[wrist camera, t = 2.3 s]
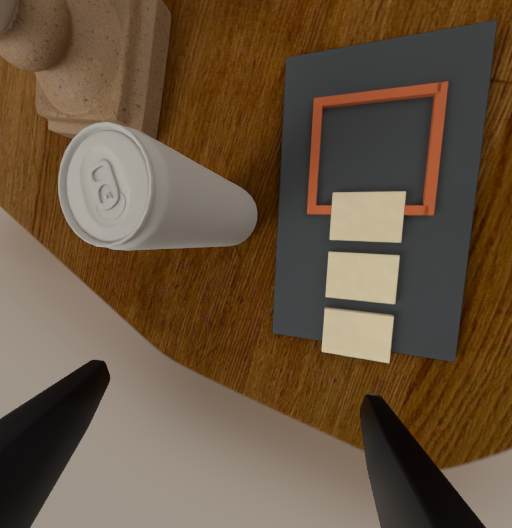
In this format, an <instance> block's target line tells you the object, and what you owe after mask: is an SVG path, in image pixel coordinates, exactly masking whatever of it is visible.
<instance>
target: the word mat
mask: <svg viewBox="0 0 512 528" xmlns="http://www.w3.org/2000/svg"><path fill="white" fill-rule="evenodd" d="M496 28H497V20H494V21H488V22H482V23H477V24H471V25H466V26H460V27H455V28H449V29H443V30H438V31H432V32H427V33H421V34H415V35H410V36H404V37H399V38H393V39H387V40H382V41H376V42H371V43H365V44H359V45H354V46H348V47H343V48H337V49H331V50H326V51H320V52H315V53H309V54H303V55H298V56H292V57H287V58H286V70H285V90H284V110H283V131H282V151H281V171H280V191H279V211H278V231H277V252H276V272H275V292H274V312H273V333H274V334H281V335H287V336H293V337H300V338H306V339H312V340H319V341H322V352H326V353H332V354H338V355H343V356H349V357H355V358H361V359H367V360H373V361H379V362H384V363H390V353H391V352H395V353H401V354H408V355H414V356H420V357H427V358H433V359H439V360H446V361H452V362H455V359H456V351H457V343H458V334H459V326H460V318H461V310H462V302H463V294H464V286H465V278H466V270H467V262H468V254H469V246H470V238H471V229H472V221H473V213H474V205H475V197H476V189H477V181H478V173H479V165H480V157H481V149H482V141H483V133H484V124H485V116H486V108H487V100H488V92H489V84H490V76H491V68H492V60H493V52H494V44H495V36H496Z"/></svg>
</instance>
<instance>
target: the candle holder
mask: <svg viewBox="0 0 512 528" xmlns="http://www.w3.org/2000/svg"><path fill="white" fill-rule="evenodd" d="M170 28H171V12H170V10H169V9H168V8H167V6H166V5H165V4H164V3H163V1H162V0H0V55H1V56H2V57H3V58H5V59H6V60H7V61H8V62H9V63H11V64H12V65H14V66H16V67H17V68H19V69H22V70H25V71H28V72H35V74H36V110H37V113H38V114H39V115H40V116H42V117H45V118H47V120H48V129H49V130H52V131H53V132H56V133H58V134H61V135H63V136H66V137H68V138H72V139H73V138H74V137H75V136H76V135H77V134H78V133H79V132H80V131H81V130H83V129H84V128H86V127H88V126H90V125H92V124H94V123H101V122H111V123H115V124H118V125H122V126H125V127H128V128H132V129H136V130H139V131H141V132H142V133H144V134H146V135H148V136H150V137H152V138H153V139H155V140H156V137H157V131H158V125H159V117H160V109H161V102H162V94H163V86H164V78H165V70H166V62H167V54H168V47H169V39H170Z"/></svg>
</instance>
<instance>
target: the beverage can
mask: <svg viewBox="0 0 512 528" xmlns="http://www.w3.org/2000/svg"><path fill="white" fill-rule="evenodd" d="M58 192H59V199H60V203H61V208H62V211H63V213H64V215H65V218H66V220H67V222H68V224H69V225H70V226H71V228H72V229H73V231H74V232H75V233H76V234H77V235H78V236H79V237H80V238H82V239H83V240H84V241H85V242H88V243H90V244H92V245H95V246H97V247H107V248H110V249H115V250H148V249H172V248H196V247H220V246H233V245H238V244H240V243H242V242H244V241H245V240H246V239H247V238H248V237H249V236H250V235H251V234H252V232H253V230H254V229H255V226H256V223H257V213H258V212H257V208H256V204H255V202H254V200H253V198H252V197H251V196H250V195H249V194H248V193H247V191H245V190H244V189H242V188H241V187H239V186H238V185H236V184H234V183H232V182H230V181H228V180H227V179H225V178H223V177H221V176H219V175H217V174H216V173H214V172H212V171H210V170H208V169H207V168H205V167H203V166H201V165H199V164H198V163H196V162H194V161H192V160H191V159H189V158H187V157H185V156H184V155H182V154H180V153H178V152H177V151H175V150H173V149H171V148H170V147H168V146H166V145H164V144H162V143H161V142H159V141H157V140H155V139H153V138H152V137H150V136H148V135H146V134H144V133H142V132H141V131H139V130H136V129H132V128H128V127H125V126H122V125H118V124H115V123H111V122H101V123H94V124H92V125H90V126H88V127H86V128H84V129H83V130H81V131H80V132H79V133H78V134H77V135H76V136H75V137H74V138H73V139H72V141H71V142H70V144H69V146H68V147H67V149H66V150H65V153H64V156H63V159H62V161H61V164H60V171H59V177H58Z"/></svg>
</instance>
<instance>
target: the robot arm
mask: <svg viewBox="0 0 512 528" xmlns="http://www.w3.org/2000/svg"><path fill="white" fill-rule="evenodd" d="M109 381H110V374H109V371H108V369H107V365H106V363H105V362H104V361H100V360H91V361H89V362H88V363H86V364H85V365H83V366H82V367H80V368H79V369H77V370H75V371H74V372H72V373H71V374H69V375H68V376H66V377H64V378H63V379H61V380H60V381H58V382H57V383H55V384H54V385H52V386H51V387H49V388H47V389H46V390H44V391H43V392H42V393H40V394H38V395H36V396H35V397H34V398H32V399H30V400H29V401H27V402H26V403H24V404H23V405H21V406H19V407H18V408H16V409H15V410H13V411H12V412H10V413H9V414H7V415H6V416H4V417H2V418H1V419H0V528H30V527H31V525H32V524H33V522H34V520H35V518H36V517H37V515H38V513H39V512H40V510H41V508H42V506H43V504H44V503H45V501H46V499H47V498H48V496H49V494H50V492H51V491H52V489H53V487H54V486H55V484H56V482H57V480H58V479H59V477H60V475H61V474H62V472H63V470H64V468H65V467H66V465H67V463H68V461H69V460H70V458H71V456H72V455H73V453H74V451H75V449H76V448H77V446H78V444H79V442H80V440H81V439H82V437H83V436H84V434H85V432H86V430H87V428H88V426H89V424H90V422H91V420H92V418H93V416H94V414H95V412H96V410H97V408H98V405H99V403H100V401H101V399H102V397H103V395H104V392H105V390H106V388H107V386H108V384H109ZM360 420H361V427H362V434H363V442H364V449H365V457H366V463H367V469H368V474H369V479H370V483H371V487H372V492H373V496H374V500H375V504H376V509H377V512H378V517H379V521H380V526H381V528H486V527H485V526H484V525H483V523H481V521H480V520H479V518H478V517H477V516H476V515H475V513H474V512H473V511H472V510H471V508H470V507H469V506H468V505H467V503H466V502H465V501H464V500H463V498H462V497H461V496H460V495H459V493H458V492H457V491H456V490H455V488H454V487H453V486H452V485H451V483H450V482H449V481H448V480H447V478H446V477H445V476H444V475H443V473H442V472H441V471H440V470H439V468H438V467H437V466H436V465H435V463H434V462H433V461H432V460H431V458H430V457H429V456H428V455H427V453H426V452H425V451H424V450H423V448H422V447H421V446H420V445H419V443H418V442H417V441H416V440H415V438H414V437H413V436H412V435H411V433H410V432H409V431H408V429H407V428H406V427H405V426H404V424H403V423H402V422H401V421H400V419H399V418H398V417H397V416H396V414H395V413H394V412H393V411H392V409H391V408H390V407H389V406H388V404H387V403H386V402H385V401H384V399H383V398H382V397H381V396H380V395H377V394H369V393H368V394H366V395H365V397H364V400H363V402H362V405H361V408H360Z"/></svg>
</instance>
